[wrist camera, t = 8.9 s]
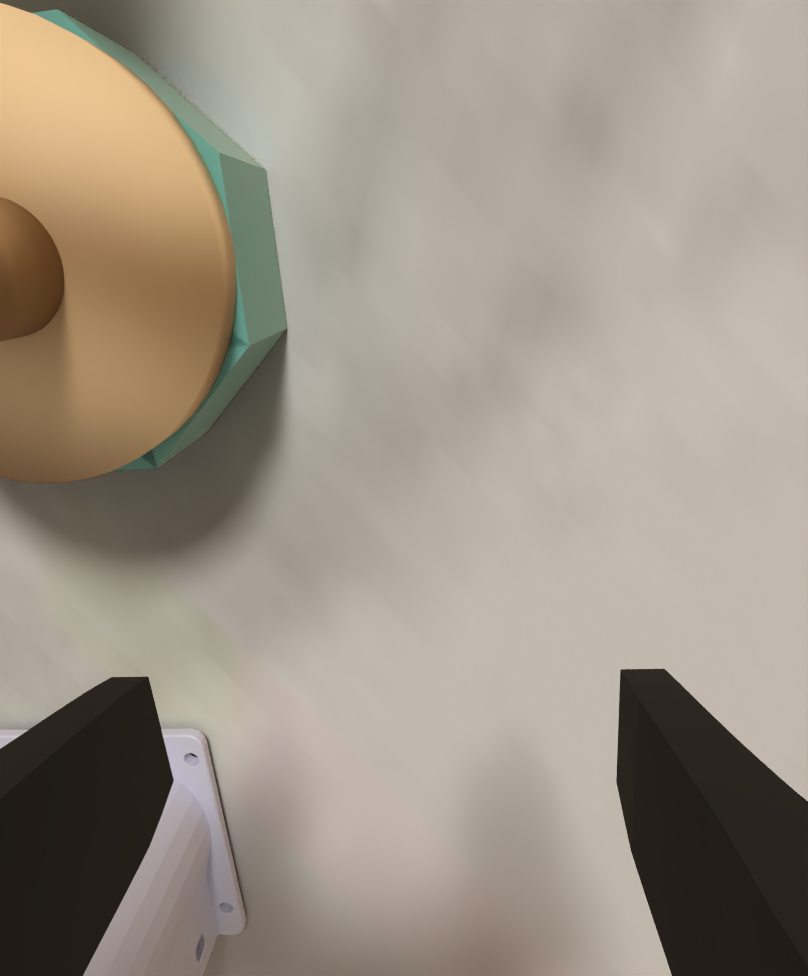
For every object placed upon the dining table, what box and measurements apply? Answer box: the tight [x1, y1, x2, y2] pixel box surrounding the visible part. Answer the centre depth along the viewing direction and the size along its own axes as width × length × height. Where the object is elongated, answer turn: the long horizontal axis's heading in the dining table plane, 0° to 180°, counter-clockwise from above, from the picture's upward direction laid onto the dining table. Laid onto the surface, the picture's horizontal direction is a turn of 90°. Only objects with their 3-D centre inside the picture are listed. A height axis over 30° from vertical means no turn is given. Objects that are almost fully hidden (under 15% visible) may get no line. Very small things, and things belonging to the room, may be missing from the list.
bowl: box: [32, 9, 287, 471], centre depth 16 cm, size 9×9×3 cm
